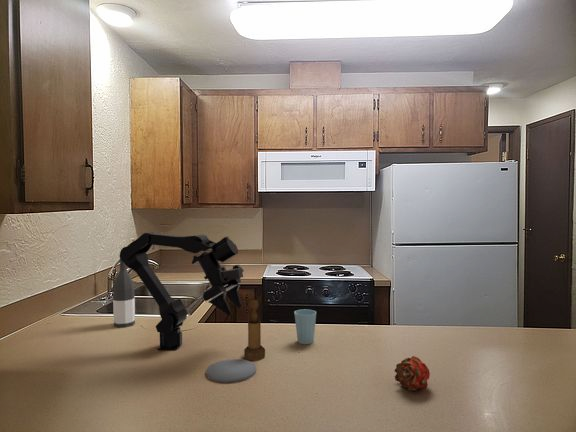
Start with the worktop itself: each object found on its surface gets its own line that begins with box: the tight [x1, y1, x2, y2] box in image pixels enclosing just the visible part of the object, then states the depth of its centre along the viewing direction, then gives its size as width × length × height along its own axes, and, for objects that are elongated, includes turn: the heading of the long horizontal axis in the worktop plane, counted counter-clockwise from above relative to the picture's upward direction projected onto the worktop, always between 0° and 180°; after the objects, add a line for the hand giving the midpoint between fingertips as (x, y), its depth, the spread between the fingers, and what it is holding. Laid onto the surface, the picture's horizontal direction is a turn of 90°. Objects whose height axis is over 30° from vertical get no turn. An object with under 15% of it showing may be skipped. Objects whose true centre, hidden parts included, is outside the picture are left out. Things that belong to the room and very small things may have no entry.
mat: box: [206, 358, 257, 384], centre depth 114 cm, size 14×14×1 cm
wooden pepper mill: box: [243, 299, 266, 361], centre depth 125 cm, size 7×6×18 cm
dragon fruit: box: [394, 355, 431, 392], centre depth 103 cm, size 8×8×12 cm
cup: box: [293, 308, 317, 345], centre depth 139 cm, size 8×8×10 cm
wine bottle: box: [112, 258, 136, 329], centre depth 161 cm, size 8×8×30 cm
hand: (235, 310), depth 129 cm, fingers open, 9 cm apart
